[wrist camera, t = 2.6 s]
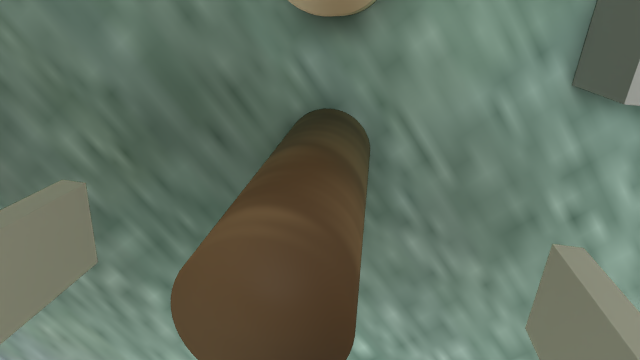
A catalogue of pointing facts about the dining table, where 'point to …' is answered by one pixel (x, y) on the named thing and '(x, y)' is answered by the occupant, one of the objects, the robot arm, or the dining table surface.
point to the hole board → (612, 52)
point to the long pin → (283, 253)
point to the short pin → (332, 6)
